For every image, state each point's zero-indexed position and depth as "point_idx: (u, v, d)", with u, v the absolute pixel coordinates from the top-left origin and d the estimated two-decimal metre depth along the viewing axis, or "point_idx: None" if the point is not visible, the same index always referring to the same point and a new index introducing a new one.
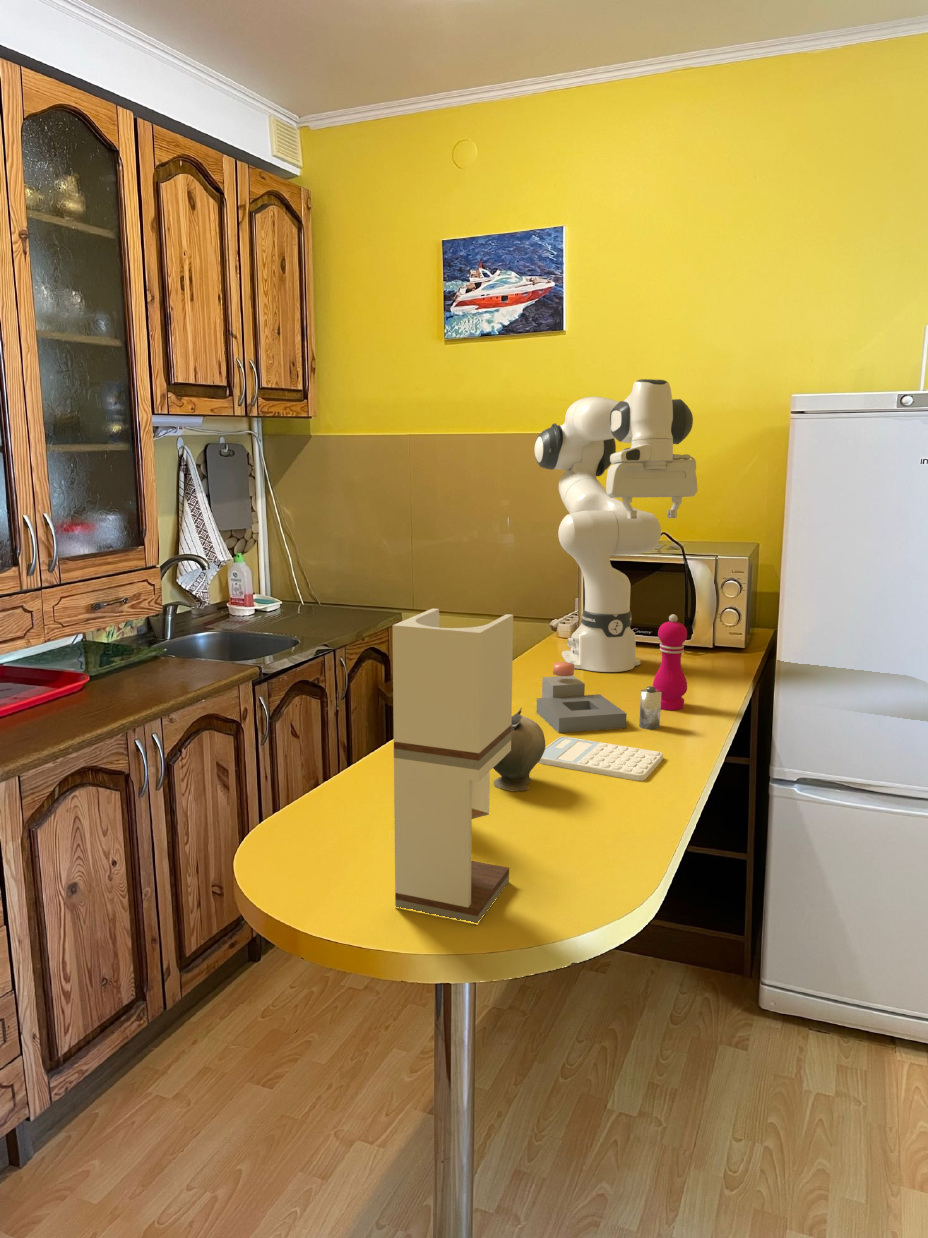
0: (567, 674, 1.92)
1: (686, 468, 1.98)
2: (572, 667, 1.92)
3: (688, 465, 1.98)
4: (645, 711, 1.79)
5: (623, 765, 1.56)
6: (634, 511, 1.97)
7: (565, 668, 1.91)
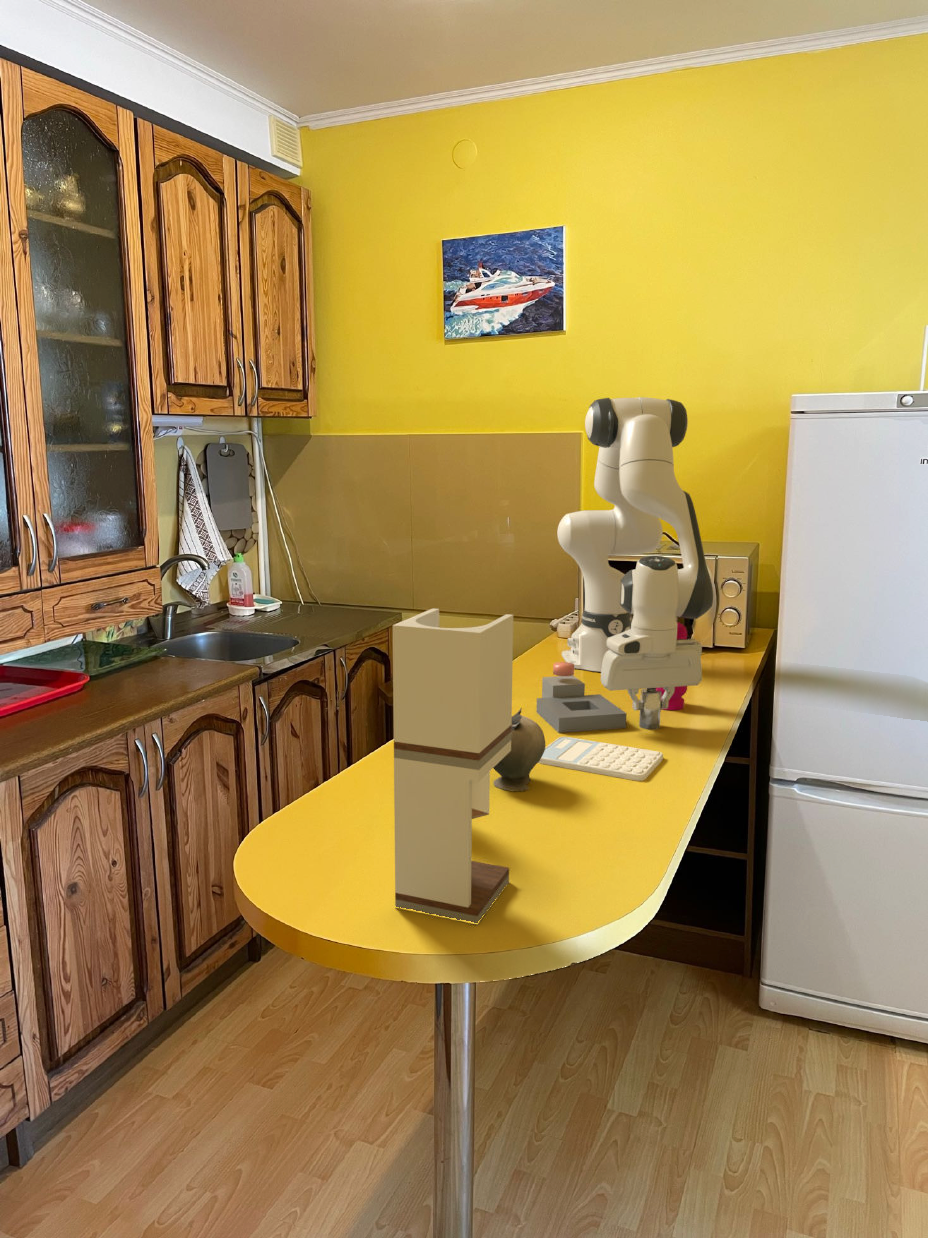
0: (567, 674, 1.92)
1: (690, 656, 1.78)
2: (572, 667, 1.92)
3: (693, 653, 1.78)
4: (645, 711, 1.79)
5: (623, 765, 1.56)
6: (640, 703, 1.79)
7: (565, 668, 1.91)
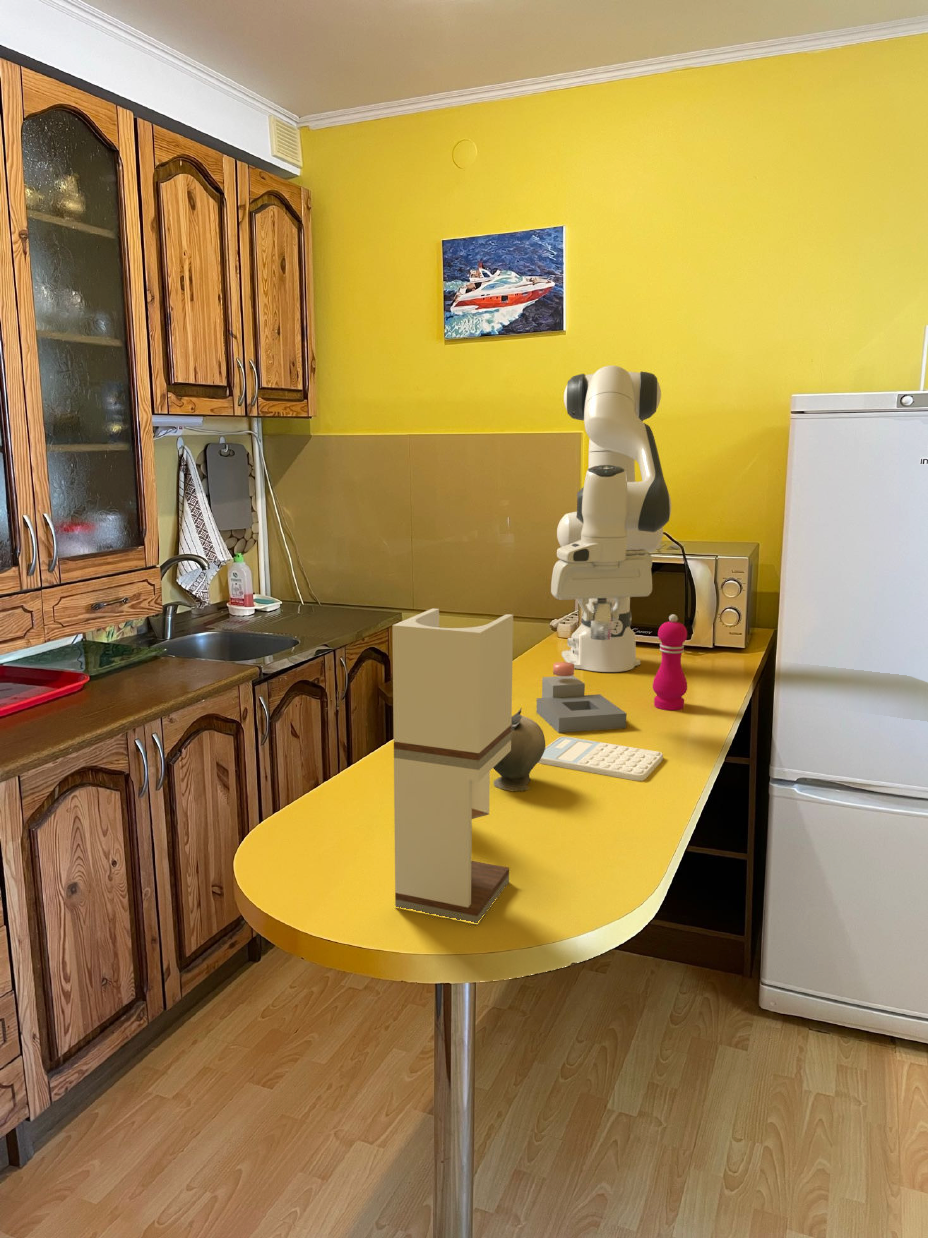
0: (567, 674, 1.92)
1: (640, 566, 1.78)
2: (572, 667, 1.92)
3: (643, 563, 1.78)
4: (596, 621, 1.79)
5: (623, 765, 1.56)
6: (591, 613, 1.79)
7: (565, 668, 1.91)
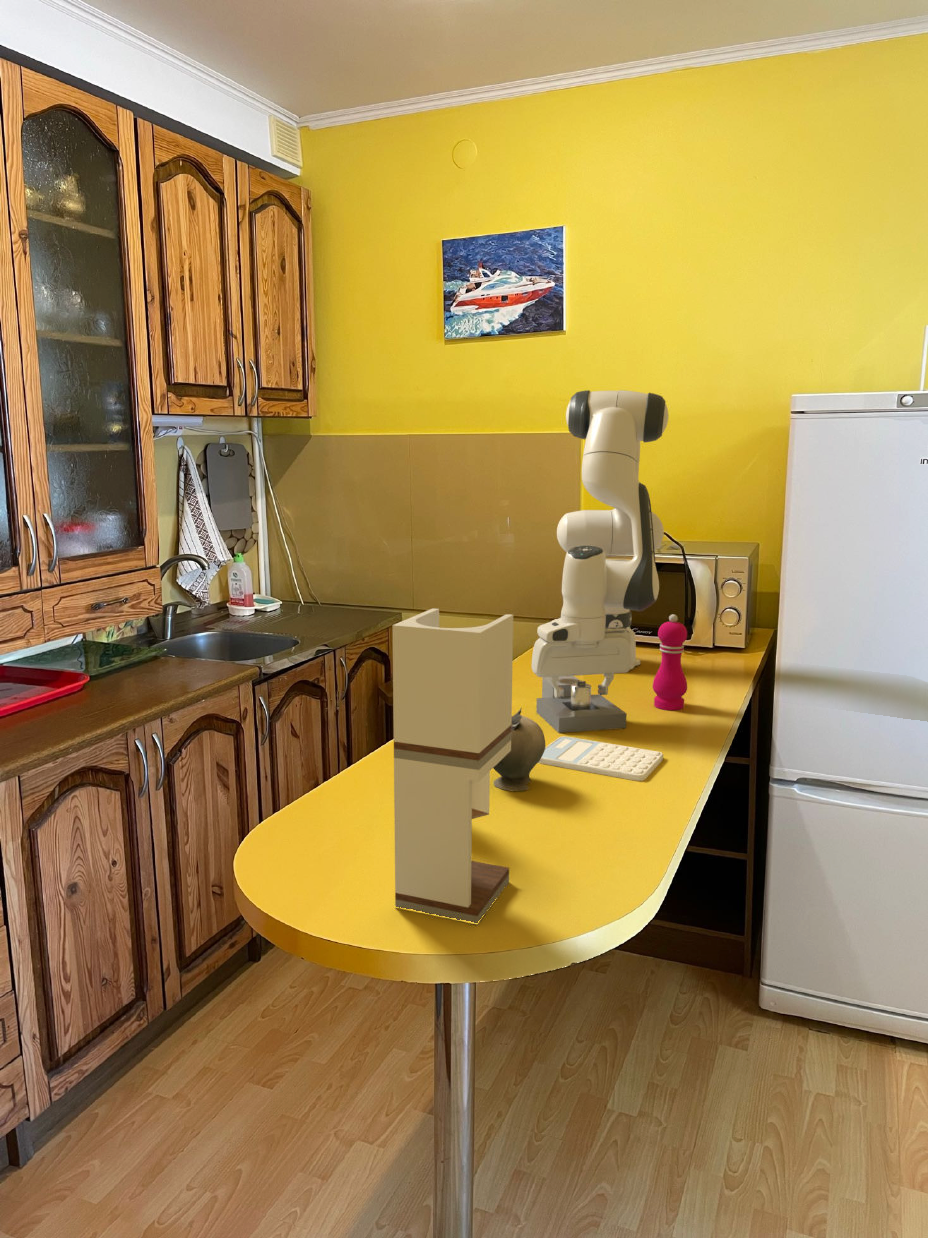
0: None
1: (619, 644, 1.82)
2: None
3: (622, 641, 1.82)
4: (575, 705, 1.83)
5: (623, 765, 1.56)
6: (561, 690, 1.82)
7: None
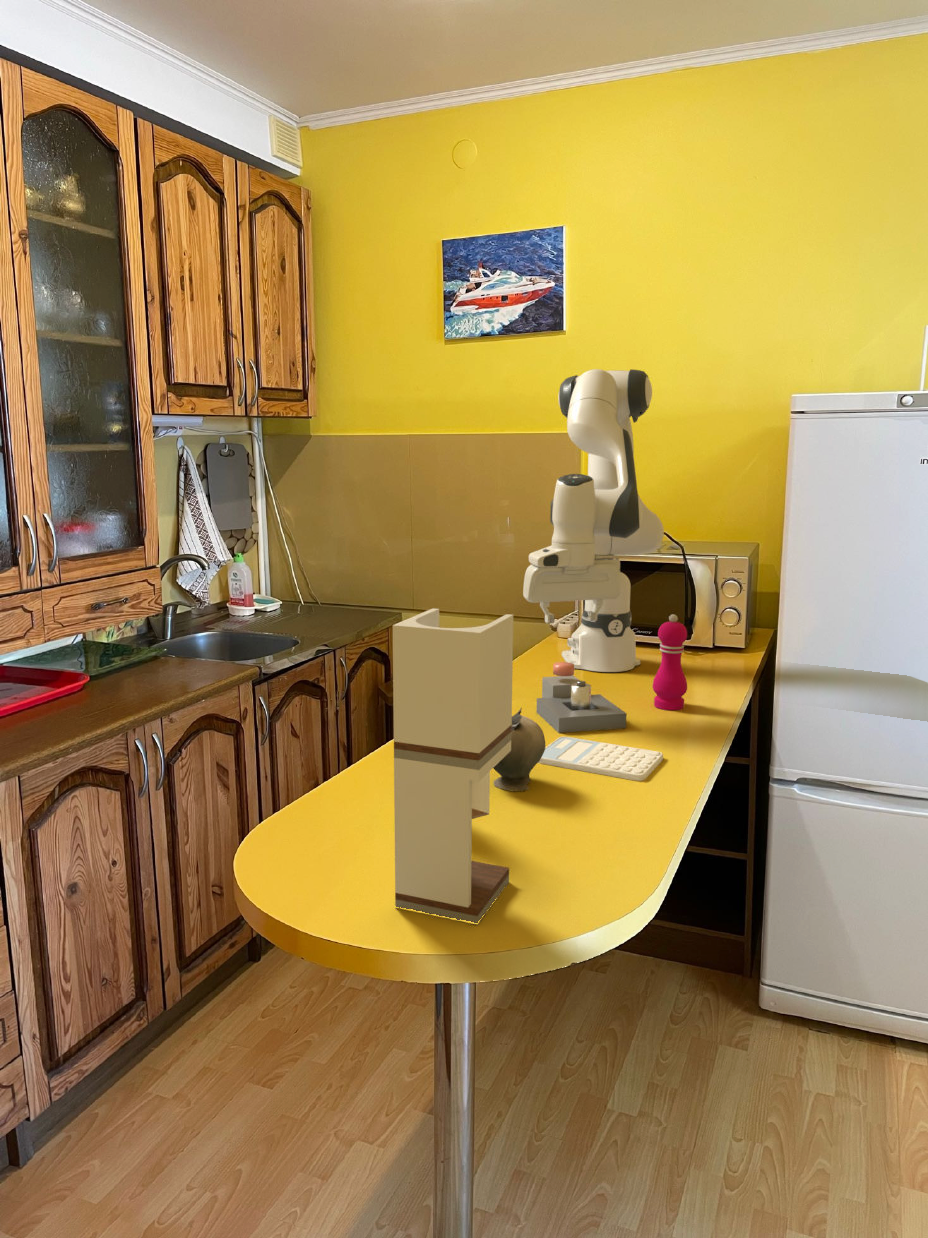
0: (567, 674, 1.92)
1: (608, 570, 1.87)
2: (572, 667, 1.92)
3: (611, 567, 1.87)
4: (575, 705, 1.83)
5: (623, 765, 1.56)
6: (551, 616, 1.87)
7: (565, 668, 1.91)
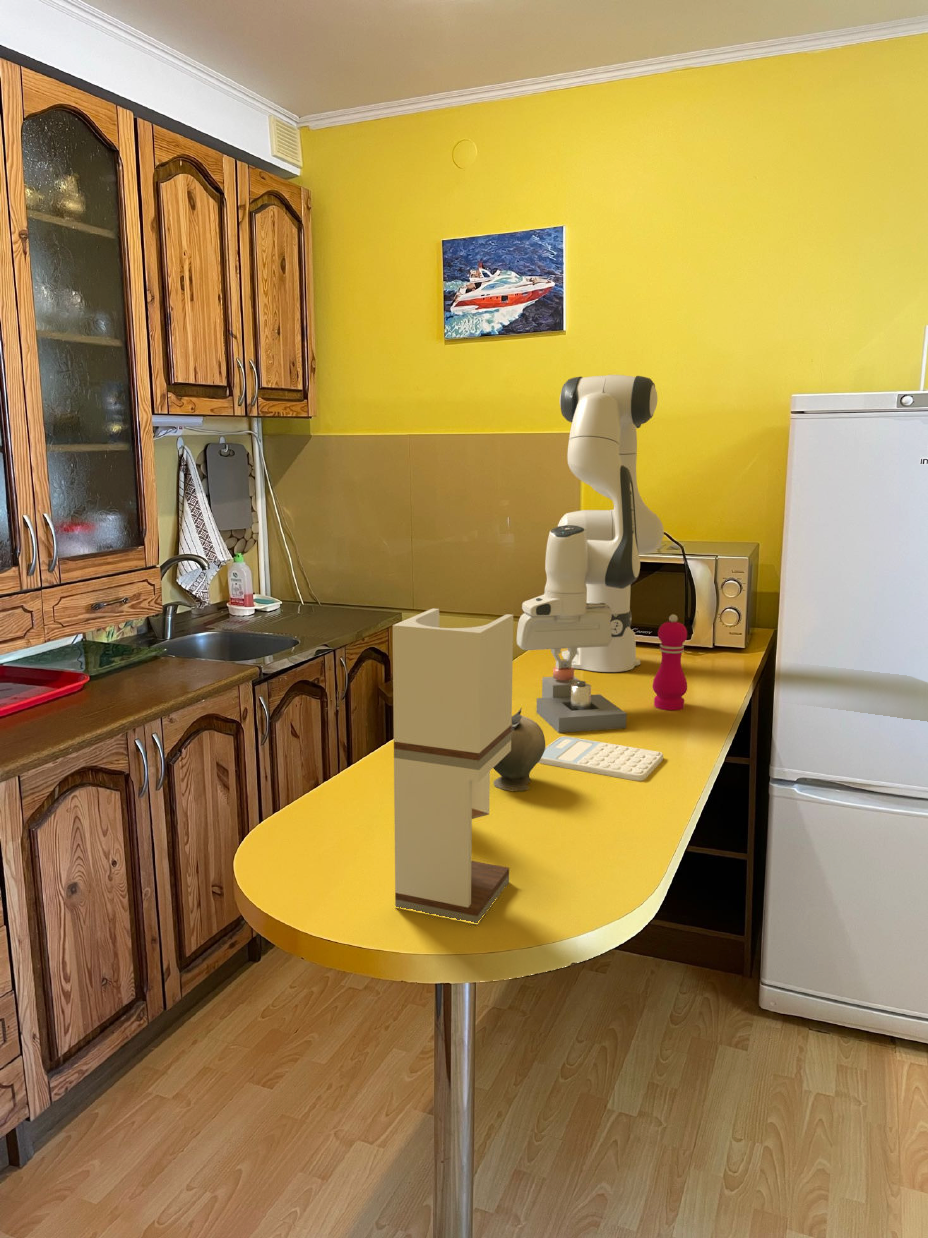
0: (567, 678, 1.92)
1: (600, 619, 1.91)
2: (572, 671, 1.92)
3: (602, 616, 1.91)
4: (575, 705, 1.83)
5: (623, 765, 1.56)
6: (562, 662, 1.92)
7: (565, 672, 1.92)
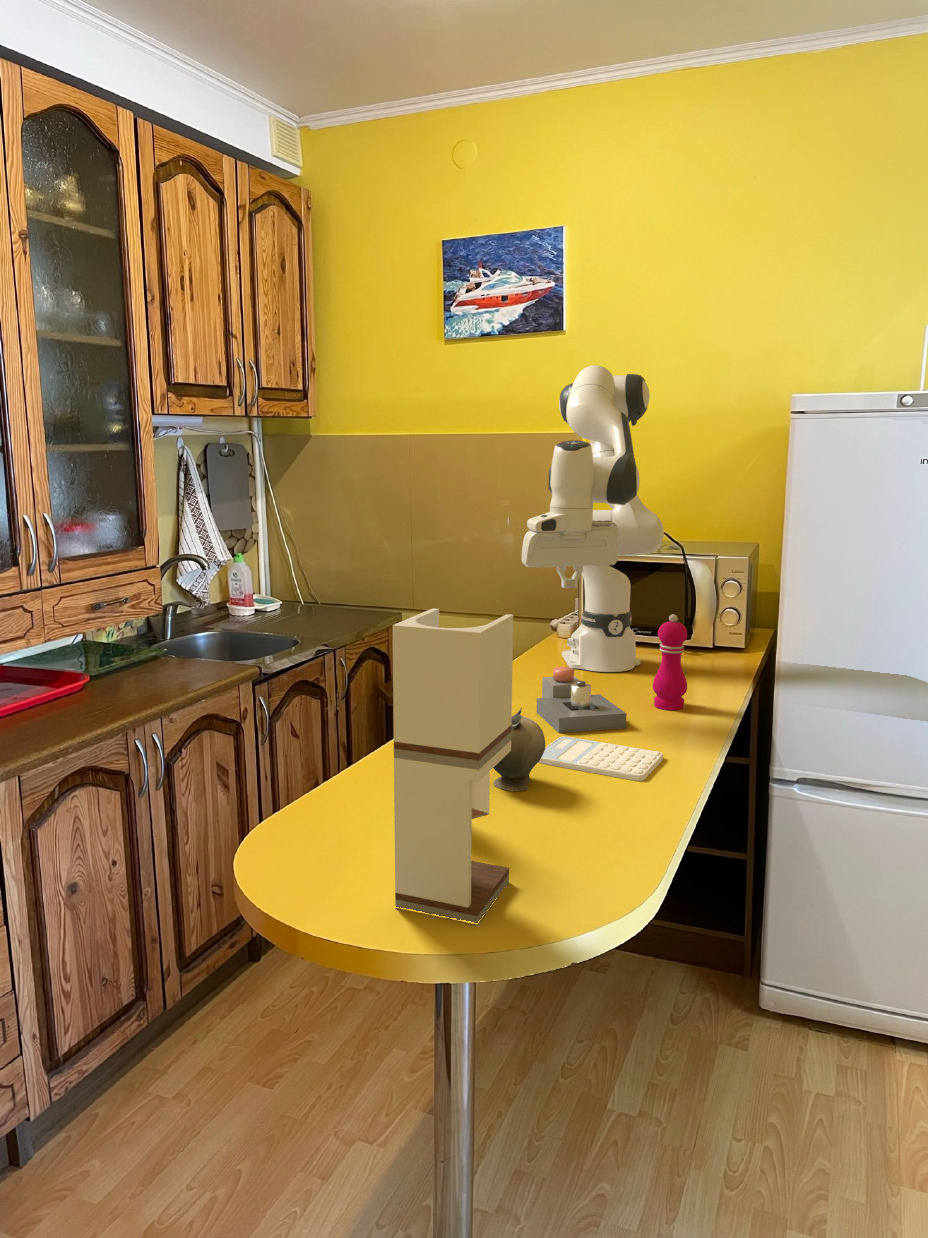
0: (567, 679, 1.92)
1: (606, 536, 1.88)
2: (572, 672, 1.92)
3: (608, 533, 1.88)
4: (575, 705, 1.83)
5: (623, 765, 1.56)
6: (568, 580, 1.89)
7: (565, 673, 1.92)
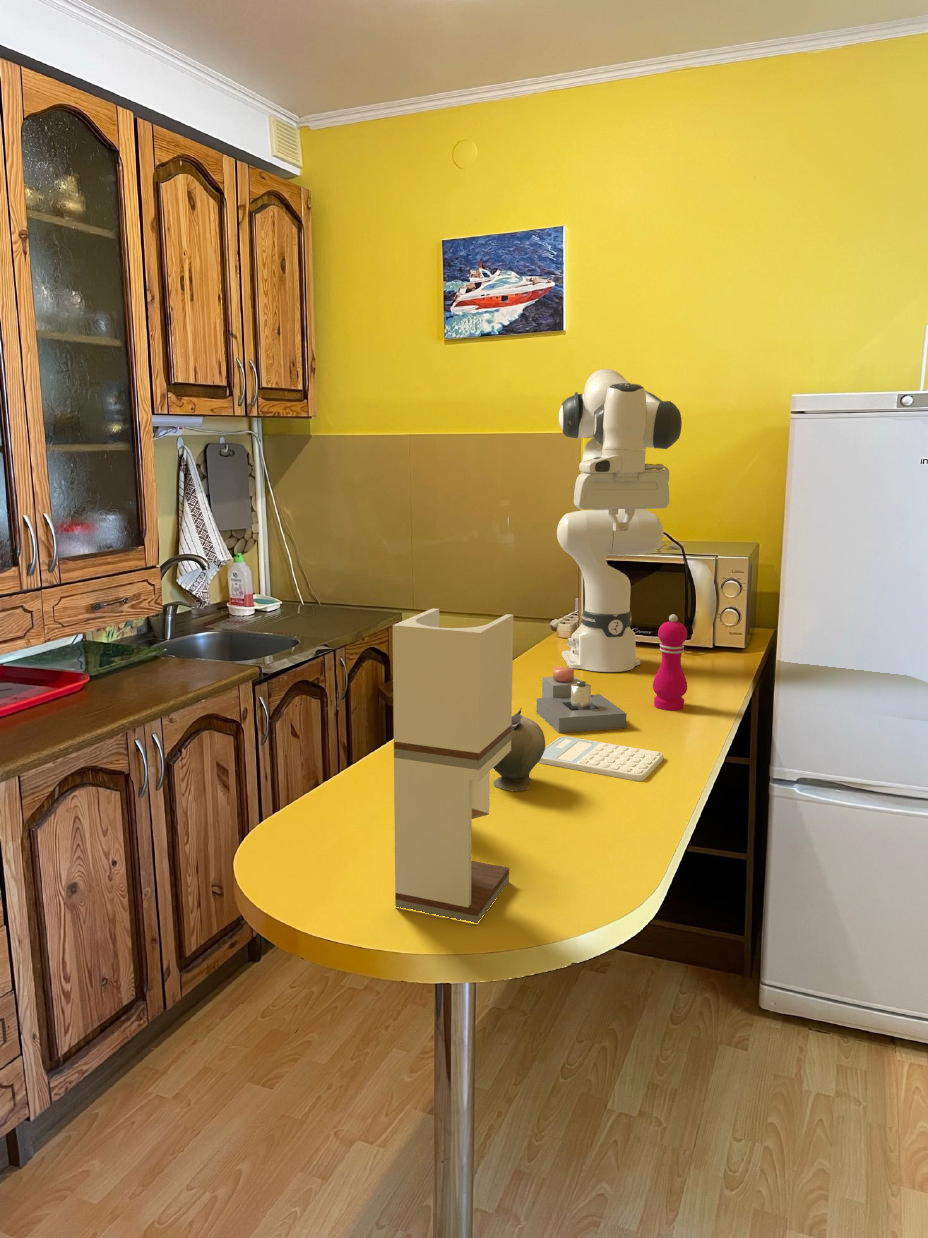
0: (567, 679, 1.92)
1: (658, 479, 1.89)
2: (572, 672, 1.92)
3: (660, 476, 1.89)
4: (575, 705, 1.83)
5: (623, 765, 1.56)
6: (620, 523, 1.90)
7: (565, 673, 1.92)
